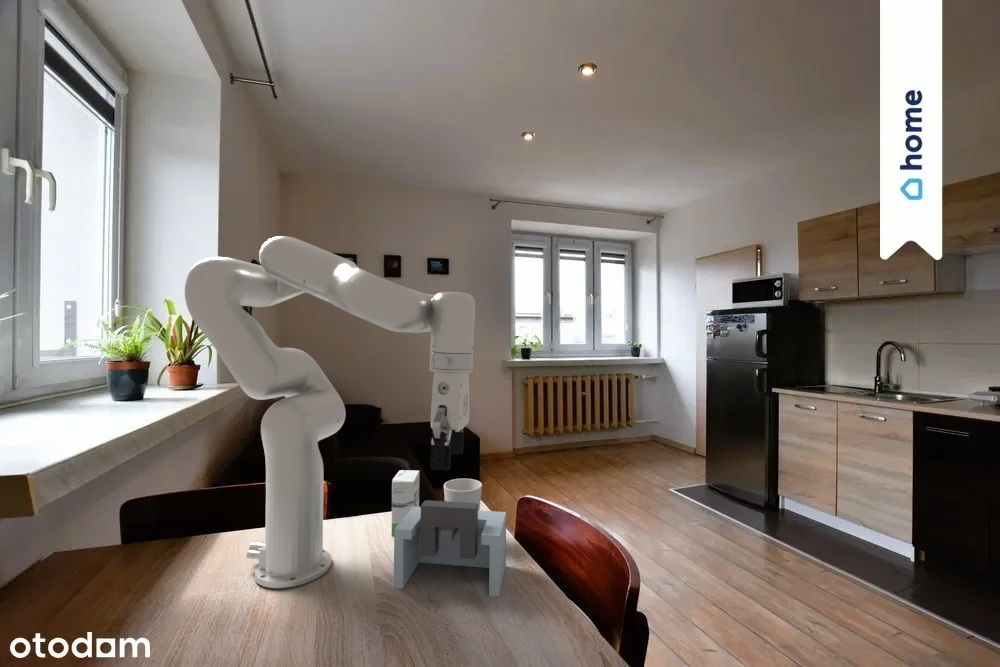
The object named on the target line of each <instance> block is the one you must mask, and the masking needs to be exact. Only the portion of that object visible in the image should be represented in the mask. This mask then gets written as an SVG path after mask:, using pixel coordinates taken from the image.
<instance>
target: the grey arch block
mask: <svg viewBox="0 0 1000 667" xmlns="http://www.w3.org/2000/svg"><path fill="white" fill-rule="evenodd" d="M420 507H421V521H420V555H423V556H435V555H436V553H437V551H438V550H439V527H441V528H457V529H460V558H464V559H475V558H476V555H477V552H478V503H464V502H447V501H445V500H444V501H443V500H426V499H425V500H424V501H423V502H422V504H421V505H420Z"/></svg>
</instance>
